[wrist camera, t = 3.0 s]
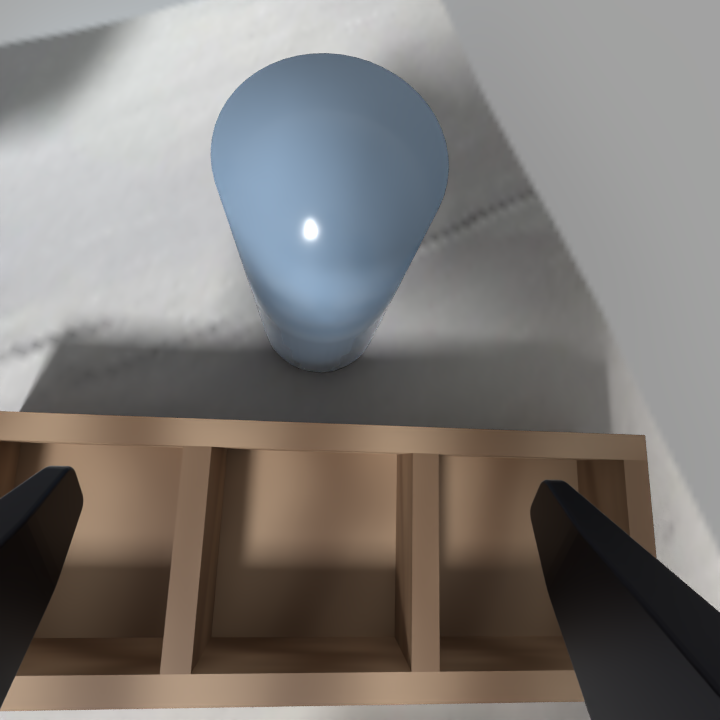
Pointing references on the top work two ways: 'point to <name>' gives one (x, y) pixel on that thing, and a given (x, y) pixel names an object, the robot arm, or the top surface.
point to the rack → (306, 561)
